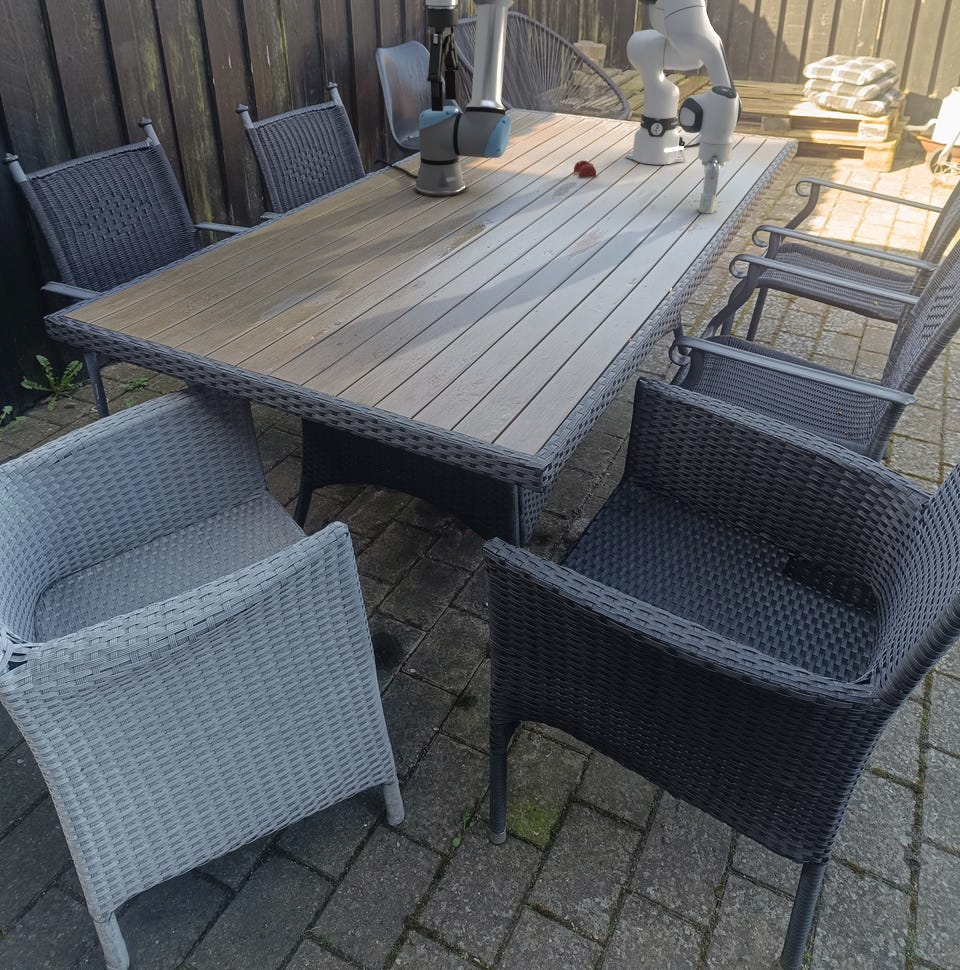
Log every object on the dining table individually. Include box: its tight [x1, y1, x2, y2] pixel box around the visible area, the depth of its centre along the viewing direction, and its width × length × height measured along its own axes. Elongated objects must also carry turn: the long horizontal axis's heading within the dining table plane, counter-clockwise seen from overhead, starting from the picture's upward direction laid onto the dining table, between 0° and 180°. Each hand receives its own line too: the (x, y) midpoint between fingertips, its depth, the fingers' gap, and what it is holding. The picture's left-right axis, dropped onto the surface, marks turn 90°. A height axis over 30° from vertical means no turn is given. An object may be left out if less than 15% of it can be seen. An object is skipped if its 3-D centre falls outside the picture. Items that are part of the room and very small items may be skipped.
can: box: [698, 192, 717, 214], centre depth 240 cm, size 4×4×5 cm
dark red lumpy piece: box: [573, 160, 597, 178], centre depth 270 cm, size 6×4×8 cm
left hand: (444, 105), depth 208 cm, fingers open, 13 cm apart
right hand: (707, 202), depth 240 cm, fingers open, 5 cm apart
